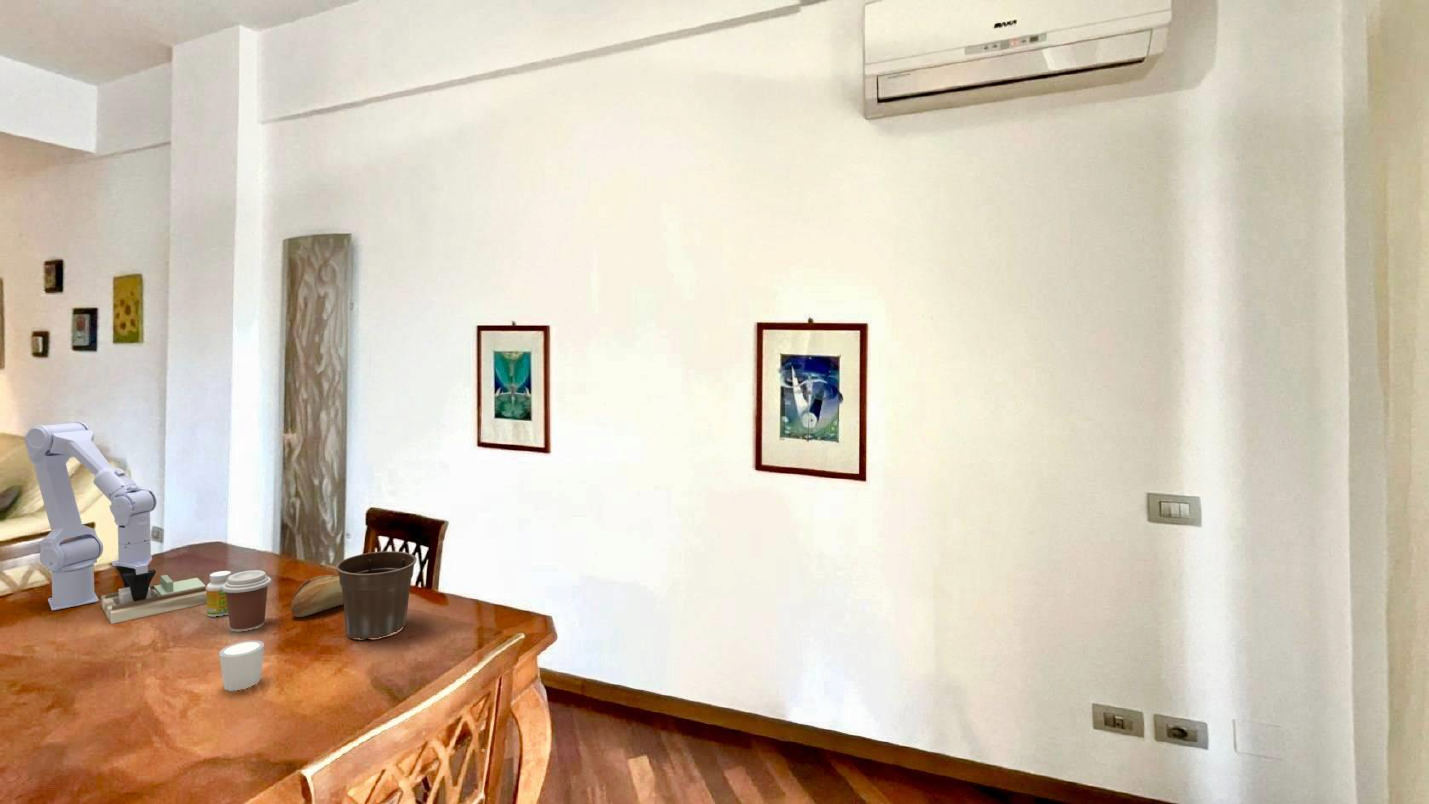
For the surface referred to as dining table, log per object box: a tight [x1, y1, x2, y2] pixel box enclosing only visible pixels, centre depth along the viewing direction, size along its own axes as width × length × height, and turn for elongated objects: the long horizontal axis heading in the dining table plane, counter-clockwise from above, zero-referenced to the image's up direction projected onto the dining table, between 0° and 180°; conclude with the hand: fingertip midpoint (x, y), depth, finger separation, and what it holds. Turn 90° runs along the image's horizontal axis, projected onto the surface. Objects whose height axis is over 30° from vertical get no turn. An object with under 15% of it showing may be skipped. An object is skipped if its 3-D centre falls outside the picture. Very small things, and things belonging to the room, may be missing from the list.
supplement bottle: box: [206, 570, 232, 618], centre depth 150 cm, size 5×5×10 cm
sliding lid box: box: [100, 577, 207, 625], centre depth 154 cm, size 15×18×3 cm
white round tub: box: [218, 640, 265, 692], centre depth 119 cm, size 7×7×7 cm
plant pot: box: [335, 550, 417, 640], centre depth 143 cm, size 16×16×16 cm
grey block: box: [118, 587, 151, 604], centre depth 150 cm, size 5×5×5 cm
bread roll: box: [290, 574, 344, 618], centre depth 154 cm, size 10×15×8 cm, turn 157°
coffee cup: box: [222, 569, 272, 633], centre depth 143 cm, size 9×9×12 cm
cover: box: [154, 574, 207, 596], centre depth 157 cm, size 8×8×3 cm
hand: (135, 596), depth 151 cm, fingers open, 7 cm apart
